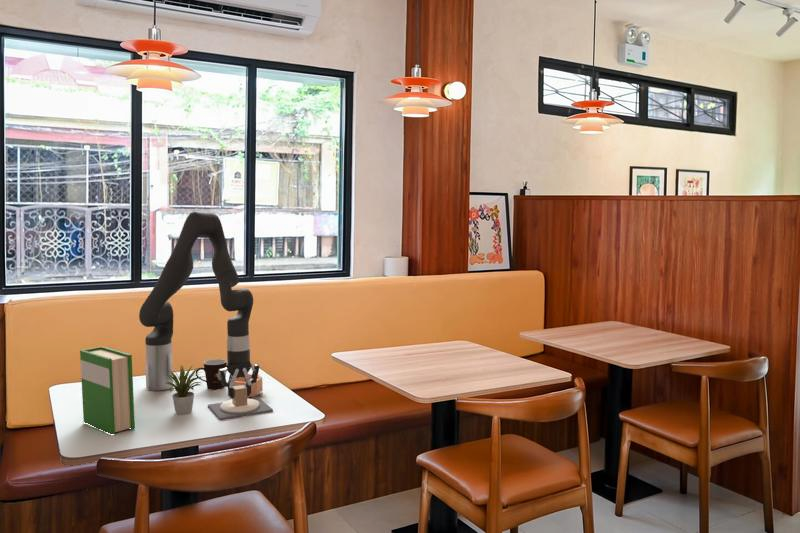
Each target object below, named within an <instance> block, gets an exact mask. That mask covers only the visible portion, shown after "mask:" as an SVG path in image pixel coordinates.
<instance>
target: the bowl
mask: <svg viewBox="0 0 800 533" xmlns="http://www.w3.org/2000/svg"><path fill="white" fill-rule="evenodd" d="M248 375H249V377H250V379H251V377H252V373H248ZM239 385H244V386H245V387H246V381H245V379H244V377H239V378H236V380H235V382H234V384H233V386H239ZM263 391H264V390H263V377H262V376H261V375H260V374H258V377H257V381H256V383H252V384H251V394H250V396H247V399H248V398H250V397H251V398H254V397H259V395H261V392H263Z"/></svg>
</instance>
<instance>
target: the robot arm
mask: <svg viewBox="0 0 800 533" xmlns="http://www.w3.org/2000/svg"><path fill="white" fill-rule="evenodd" d="M179 233H180V234H179V236H178V239H177V242H176V244H175V246H174V248H173V250H172V252H171V253H170V256H169V258H168V259H167V261H166V264H165V265H164V267H163V269H162V271H161V273H160V275H159V277H158V279H157V281H156V283H155V284H154V286H153V288H152V290H151V292H150V293H149V294H148V296H147V297H146V299H145V300H144V302H143V304H142V305H141V307H140V310H139V313H138V319H139V322H140V324H141V325H142V326H144V327H147V328H153V329H152V331H151V332H150V333H149V334H147V335H146V336H145V340H144V341H145V342H144V343H145V360H146V362H145V387H146V389H147V390H148V391H149V392H150V391H155V392H156V391H158V392H159V391H165V390H169V389H170V387H172V388H174V387H173V386H172V385H169V384H165V383H167V382H171V383H173V384H174V382H173V381H174V380H173V379H172V378H171V377H170V376H169V377H170V378H171V379H172V380H173V381H172V380H171V379H170V378H169V377H168V376H166V375H171V376H172V373H171V372H170V371H173V353H172V349H173V348H172V345H173V344H172V338H173V335H174V309H173V306H172V304H171V303H170V302H169V301H168V300H170V298H172V297H173V295H175V294H177V293H178V291H179V290H181V288H183V286H184V285H186V284H187V282H188V280H189V278H190V276H191V274H192V272H193V270H194V259H193V258H194V257H193V254H192V250H193V247H194V245H195V243H196V241H197V240H198V238H199V239H200V238H201V239H208V240H209V241H210V242H211V245H212V248H213V253H212V254H213V255H212V259H211V269H212V273H213V274H214V276H215V279H216V281H217V284H218V288H219V295H220V304H221V307H222V308H223V309H224V310H225V311H227V312H235V311H237V313H236V314H235V316H232V317H230V318H228V319H227V324H226V326H227V328H226V330H227V332H226V333H227V340H226V355H227V356H226V360H227V366H226V368H224V369H219V370H218V372H219V375H220V379H221V382H222V385H223V386H224V388H227V396H228V397H229V398H230V400H232V398H234V394H233V384H234V382H235V380H236V378H239V377H244V379H245V381H246V387H247V396H250V394H251V384H252V383H256V381H257V377H258V375H259V371H260V366H259V365H258V364H256V363H255V364H252V363H251V343H250V342H251V340H250V334H249V333H250V332H249V331H250V330H249V327H250V325H249V321H250V320H251V319H250V318H251V314H252V309H253V306H254V297H253V293H252V292H251V291H250V290H249V289H247V288H240V289H233V288H234V287H235V286H237V285H238V284H239V282H240V277H239V275H238V273H237V269H236V268H235V265H234V263H233V260H232V259H231V256H230V253H229V248H228V244H227V241H226V236H225V232H224V229H223V225H222V222H221V219H220V217H219V216H218V215H217V214H216V213H215V212H210V211H208V212H206V211H200V210H199V211H198V210H197V211H196V210H195V211H192V212H190V213H189V214H188V216H187V217H186V219H185V221H184V224H183V226H182V229H181V231H180V232H179ZM250 370H251V371H252V373H251V374H252V377H251V379H250V377H249V375H248V374H249V372H250ZM227 372H228V373H229V376H228V380H226V378H225V375H227ZM168 373H169V374H168Z"/></svg>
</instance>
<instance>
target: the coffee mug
mask: <svg viewBox="0 0 800 533" xmlns="http://www.w3.org/2000/svg"><path fill="white" fill-rule="evenodd" d="M227 364H228V362H227V359H223V358H213V359H208V360H207V359H206V360H204V362H203V367H198V368H199V369H198V370H196V369H195V370H196V372H195V374H196V373H199V371H200V370H202V371H203V372H204V376H206V377H205V379H203V378H202V377H201V378H199V379H198V380H200V381H201V382H205V384H206V387H207V388H206V389H207V390H210V391H216V390H217V391H219V390H222V389H225V387H224V386H223V385H222V382H221V379H220V375H219V372H218V370H219V369H224V368H226V366H227ZM196 375H197V376H196V377H200V375H198V374H196ZM226 375H227V374H226ZM226 375H225V378H226V377H227V376H226Z"/></svg>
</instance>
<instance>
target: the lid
mask: <svg viewBox="0 0 800 533" xmlns="http://www.w3.org/2000/svg"><path fill="white" fill-rule="evenodd" d="M233 394H234V398H232V399H228V400H226V401H224V402H223V403H222V402H221V403H222V404H221V405H220V409H221V410H222V411H223V412H227V413H246V412H250V411H253V410H256V409H257V408H259V401H257V400H254V399H248V398H247V387H245V386H244V385H239V386H233Z"/></svg>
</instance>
